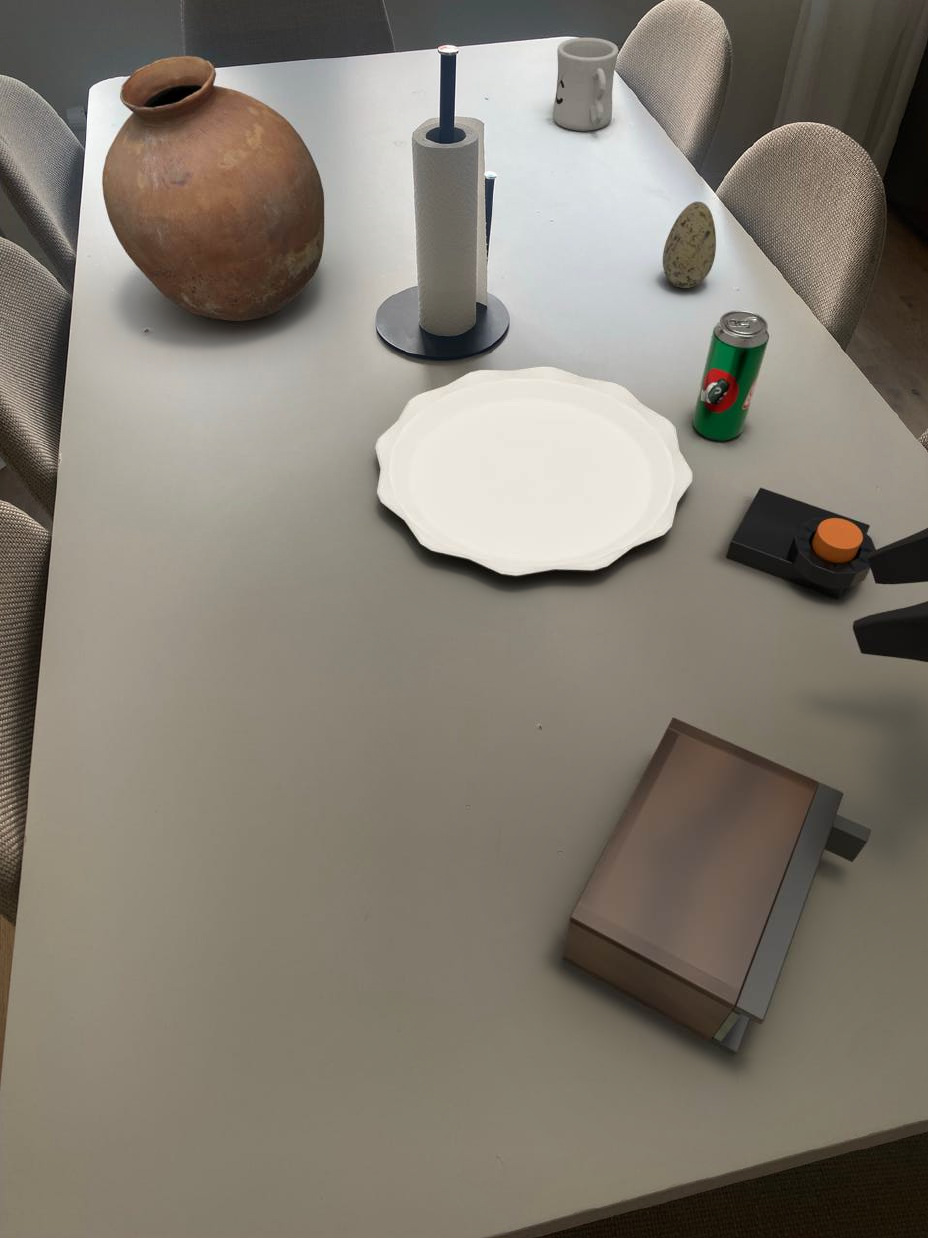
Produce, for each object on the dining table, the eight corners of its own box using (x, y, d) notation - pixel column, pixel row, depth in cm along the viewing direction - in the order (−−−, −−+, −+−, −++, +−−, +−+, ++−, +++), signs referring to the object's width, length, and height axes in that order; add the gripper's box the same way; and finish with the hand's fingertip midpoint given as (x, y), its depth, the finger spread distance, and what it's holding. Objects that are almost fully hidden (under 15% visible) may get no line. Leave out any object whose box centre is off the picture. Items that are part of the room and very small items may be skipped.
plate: (373, 394, 96) (371, 374, 95) (646, 377, 98) (650, 358, 96) (382, 602, 78) (380, 583, 76) (720, 578, 79) (726, 559, 77)
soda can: (746, 444, 91) (777, 338, 82) (695, 444, 91) (720, 338, 82) (737, 412, 94) (766, 307, 85) (688, 412, 94) (711, 307, 85)
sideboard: (812, 842, 63) (844, 792, 58) (735, 1056, 54) (763, 1021, 49) (656, 769, 67) (673, 716, 62) (560, 959, 58) (569, 916, 53)
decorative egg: (655, 294, 108) (669, 212, 101) (660, 269, 112) (674, 187, 104) (706, 301, 108) (724, 218, 100) (709, 275, 111) (727, 193, 104)
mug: (544, 111, 143) (548, 39, 135) (599, 105, 144) (607, 33, 136) (569, 144, 135) (575, 70, 127) (627, 138, 136) (636, 64, 129)
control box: (876, 547, 81) (892, 514, 78) (848, 616, 76) (864, 584, 73) (754, 504, 85) (765, 471, 82) (720, 567, 80) (730, 535, 77)
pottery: (360, 263, 114) (337, 36, 94) (288, 369, 99) (243, 127, 80) (194, 239, 118) (140, 18, 99) (102, 338, 104) (17, 101, 84)
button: (861, 542, 77) (868, 527, 75) (849, 569, 75) (856, 554, 74) (818, 527, 78) (824, 512, 77) (806, 553, 76) (812, 538, 75)
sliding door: (852, 852, 62) (877, 817, 58) (818, 954, 57) (842, 924, 53) (805, 830, 63) (827, 794, 59) (768, 929, 58) (789, 898, 55)
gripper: (1109, 437, 52) (861, 490, 60) (1131, 575, 42) (830, 617, 50) (1128, 539, 55) (889, 577, 63) (1153, 692, 45) (864, 714, 53)
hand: (864, 601), depth 57 cm, fingers open, 7 cm apart
